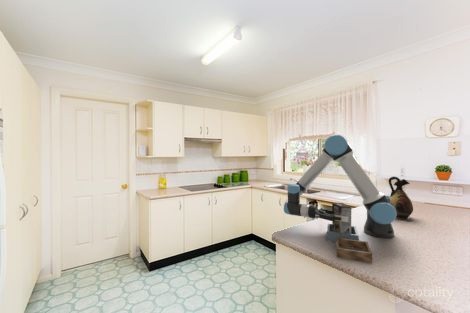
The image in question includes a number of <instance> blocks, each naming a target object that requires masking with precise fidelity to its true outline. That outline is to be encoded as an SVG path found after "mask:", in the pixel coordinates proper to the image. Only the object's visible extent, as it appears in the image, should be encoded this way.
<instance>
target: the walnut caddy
mask: <svg viewBox="0 0 470 313" xmlns="http://www.w3.org/2000/svg"><path fill="white" fill-rule="evenodd" d="M335 243H336V258H340V259H344V260H345V259H347V260H353V261H359V262H363V261H364V262H365V263H369V262H370V263H371V264H372V263H373V252H372V249H371V247H370V244H369V241H365V240H359V241H358V240H350V239H343V238H336V242H335Z"/></svg>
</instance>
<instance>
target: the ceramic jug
mask: <svg viewBox="0 0 470 313" xmlns="http://www.w3.org/2000/svg"><path fill="white" fill-rule="evenodd" d="M393 180H396V181H395V182H394V183H393V184H392V181H393ZM388 184H389V187H390V190H391V192H390V195H389V196H390V199H391V201H390V203H391V204H392V206H394V208H395V209H396V213H397V216H396V219H398V220H408V219H409V217H410V216H411V215H412V214H413V213H414V212H413V211H414V206H413V203H412V199H410V197H409V196H408V194H407V193H406V192H405V190H404V189H403V187H404V186H406V185H410V182H408V181H407V180H406V179H405V178H403V179H400V178H399V177H398V176H391V177H389V178H388ZM394 186H396V188H394Z"/></svg>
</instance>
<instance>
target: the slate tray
mask: <svg viewBox="0 0 470 313" xmlns="http://www.w3.org/2000/svg"><path fill="white" fill-rule="evenodd" d="M326 228H327V230H326V236H327V237H326V241H327V242H334V243H336V238H343V239H350V240H358V241H360V240H359V233H358V230H357V226H353V225H351V234H347V233H339V232H335V231H333V230H332V223H327V227H326Z"/></svg>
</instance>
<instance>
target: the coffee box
mask: <svg viewBox="0 0 470 313" xmlns="http://www.w3.org/2000/svg"><path fill="white" fill-rule="evenodd" d="M331 204H332V205H331V209H332V215H334V216H335V215H338V216H345V217H348V222H343V221H336V220H335V222H333V221H331V222H332V223H331V224H332V230H333V231H335V232H339V233H347V234H351V226H352V206H350V205H348V204H346V203H344V202H332V203H331Z"/></svg>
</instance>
